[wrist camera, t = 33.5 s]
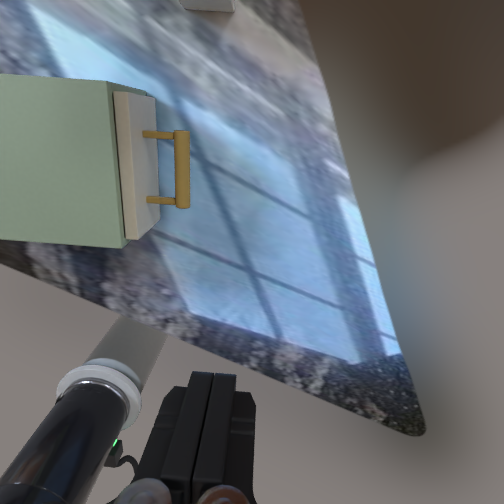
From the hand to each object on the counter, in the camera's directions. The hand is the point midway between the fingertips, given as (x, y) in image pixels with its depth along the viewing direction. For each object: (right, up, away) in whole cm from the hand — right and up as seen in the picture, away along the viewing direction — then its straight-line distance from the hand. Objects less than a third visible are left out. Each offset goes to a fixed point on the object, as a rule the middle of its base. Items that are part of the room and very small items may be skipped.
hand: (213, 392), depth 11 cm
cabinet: (-17, +15, +24) cm, 33 cm away
